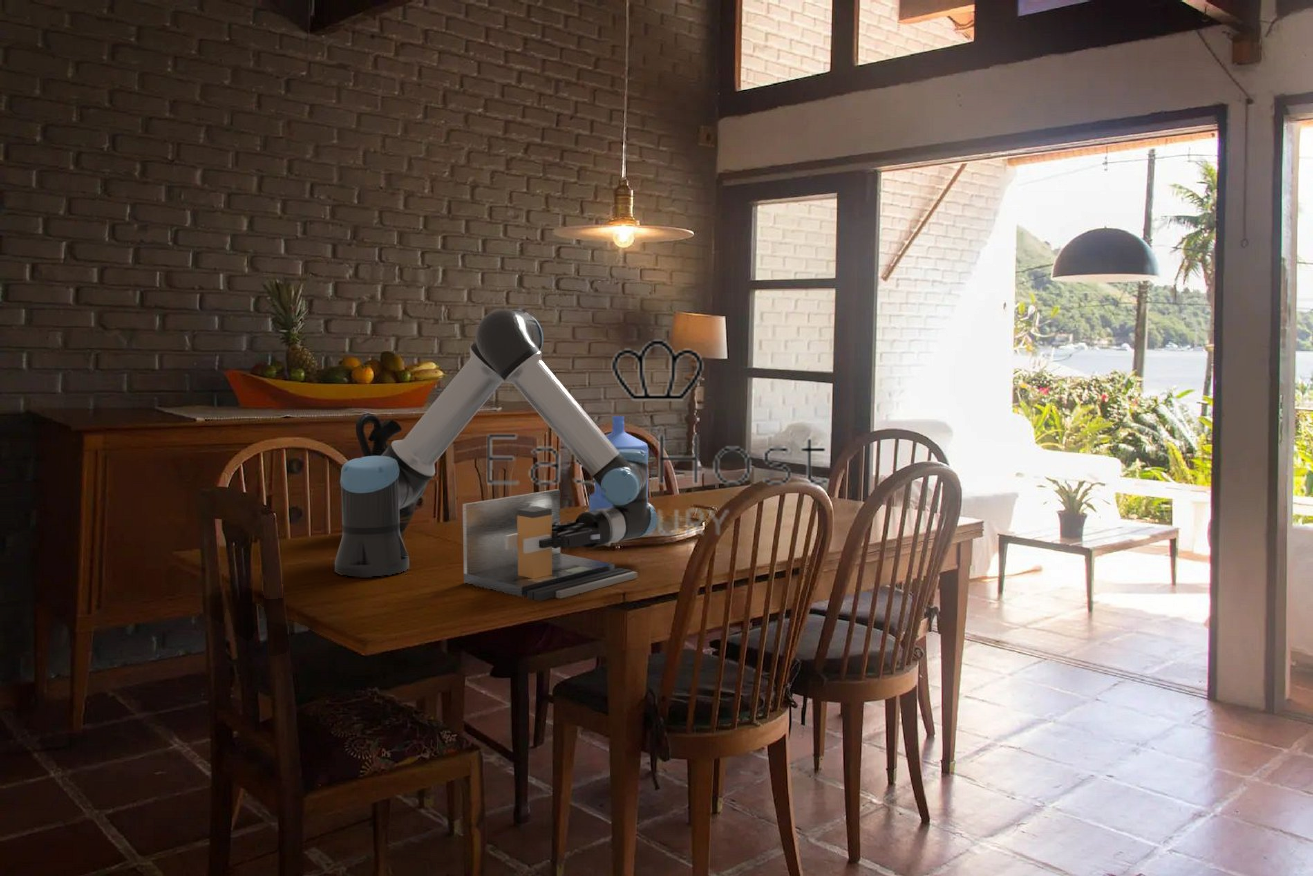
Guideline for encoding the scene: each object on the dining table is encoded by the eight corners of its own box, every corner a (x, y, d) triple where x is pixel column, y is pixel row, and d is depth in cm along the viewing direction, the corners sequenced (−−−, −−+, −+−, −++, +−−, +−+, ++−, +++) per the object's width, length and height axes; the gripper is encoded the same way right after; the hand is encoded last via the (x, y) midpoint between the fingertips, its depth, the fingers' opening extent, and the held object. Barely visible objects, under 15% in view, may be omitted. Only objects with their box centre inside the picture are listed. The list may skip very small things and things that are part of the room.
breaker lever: (533, 578, 207) (533, 512, 206) (518, 575, 210) (517, 509, 208) (552, 574, 211) (551, 508, 209) (536, 571, 214) (535, 506, 212)
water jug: (623, 515, 290) (623, 413, 287) (660, 523, 278) (660, 417, 275) (576, 521, 280) (576, 416, 277) (612, 530, 268) (612, 420, 265)
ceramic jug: (390, 526, 272) (387, 410, 269) (428, 534, 262) (426, 413, 259) (332, 536, 259) (329, 414, 256) (370, 544, 249) (367, 417, 246)
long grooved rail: (544, 602, 197) (544, 595, 197) (527, 598, 200) (527, 591, 200) (637, 578, 217) (637, 571, 217) (619, 574, 220) (619, 567, 220)
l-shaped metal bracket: (521, 597, 201) (520, 513, 199) (463, 583, 212) (462, 504, 210) (614, 573, 221) (614, 497, 219) (557, 561, 232) (556, 489, 230)
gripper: (629, 551, 218) (547, 570, 200) (569, 539, 229) (486, 557, 212) (630, 514, 217) (546, 531, 200) (569, 505, 229) (485, 519, 211)
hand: (515, 544), depth 206 cm, fingers closed on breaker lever, 5 cm apart
